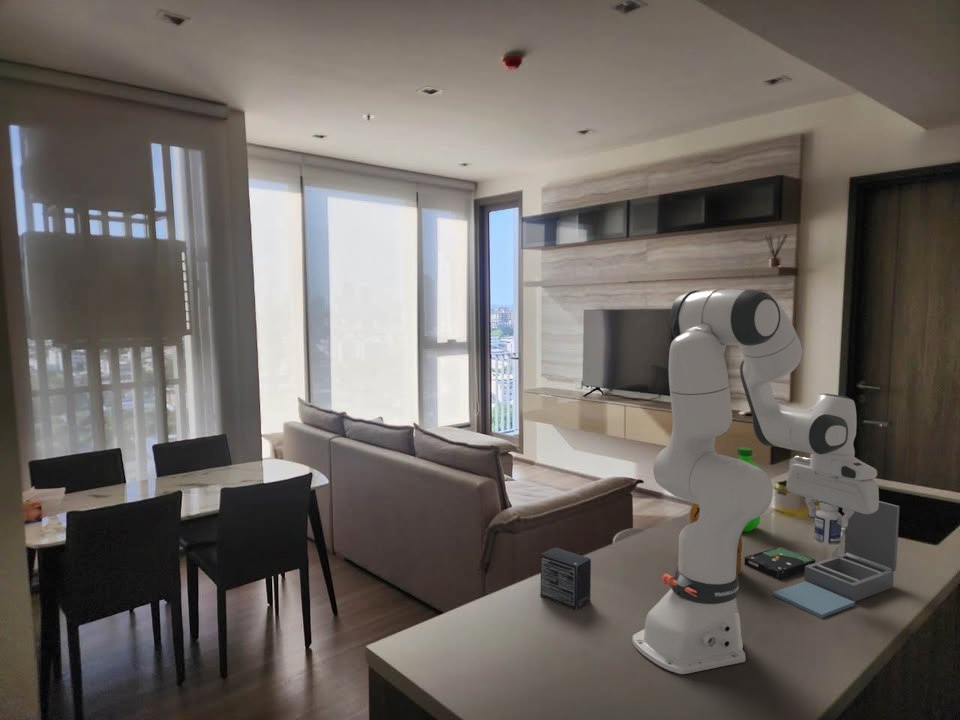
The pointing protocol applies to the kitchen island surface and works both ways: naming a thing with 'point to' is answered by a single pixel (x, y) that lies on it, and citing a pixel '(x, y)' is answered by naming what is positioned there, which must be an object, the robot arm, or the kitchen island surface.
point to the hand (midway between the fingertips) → (827, 521)
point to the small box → (565, 577)
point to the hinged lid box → (861, 556)
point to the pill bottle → (827, 525)
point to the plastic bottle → (745, 456)
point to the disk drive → (778, 562)
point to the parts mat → (814, 599)
